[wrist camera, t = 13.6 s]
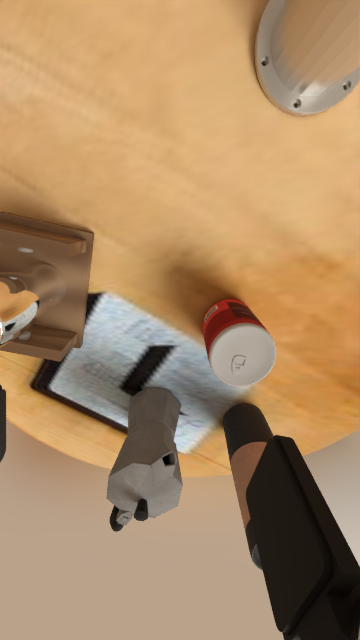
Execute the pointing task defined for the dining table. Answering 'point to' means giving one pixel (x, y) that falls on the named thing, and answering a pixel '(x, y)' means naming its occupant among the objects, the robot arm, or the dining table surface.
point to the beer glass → (27, 298)
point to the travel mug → (246, 457)
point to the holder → (70, 260)
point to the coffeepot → (146, 460)
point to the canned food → (237, 344)
